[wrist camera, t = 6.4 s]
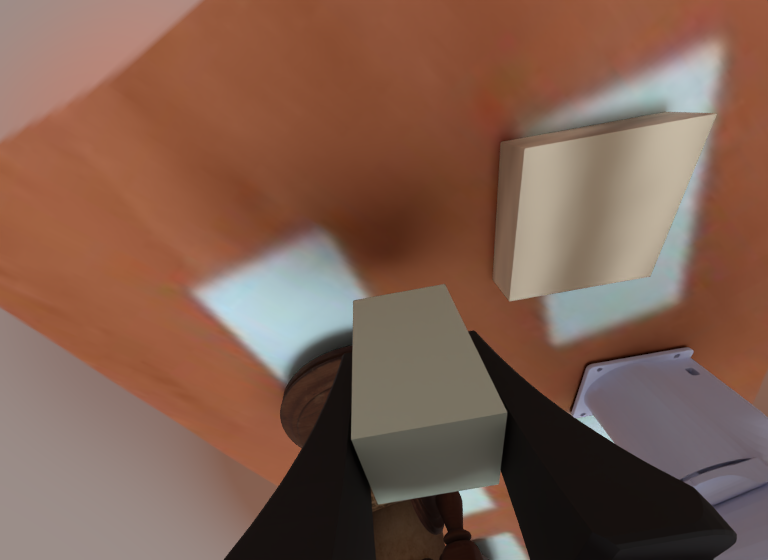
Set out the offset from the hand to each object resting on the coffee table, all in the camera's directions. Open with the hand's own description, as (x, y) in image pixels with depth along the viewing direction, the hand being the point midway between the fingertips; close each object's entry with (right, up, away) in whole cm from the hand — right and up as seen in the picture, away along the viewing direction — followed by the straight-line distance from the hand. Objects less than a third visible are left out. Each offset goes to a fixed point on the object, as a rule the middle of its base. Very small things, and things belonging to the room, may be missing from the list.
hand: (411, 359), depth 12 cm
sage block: (0, +1, +2) cm, 2 cm away
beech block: (+10, +8, +7) cm, 15 cm away
